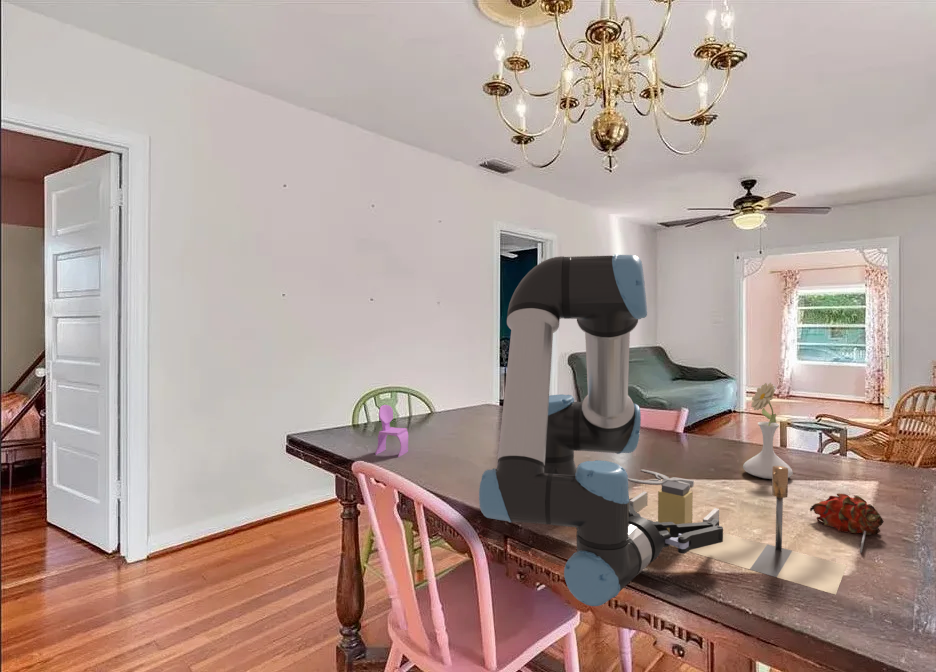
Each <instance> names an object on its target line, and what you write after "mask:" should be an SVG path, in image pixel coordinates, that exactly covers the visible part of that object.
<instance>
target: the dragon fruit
mask: <svg viewBox="0 0 936 672" xmlns="http://www.w3.org/2000/svg"><path fill="white" fill-rule="evenodd" d="M812 511H813V512H814V514H816V515H819V516H817V517H816V521H817V522H818V523H820V524H821V525H823V526H824V527H832V528H835V529H837V531H838V533H841V532H846V533H847V534H855V535H856V534H861V535H863V534H864V531H866V534H865V535H867V536H868V535H869V536H870V535H875V536H877V535H878V534H879V533H881V532H882V531H881V529H880V527H881V526H882V525H884V520H883V517H882V516H881V514H880V513H879V512H878V511H877V509H876V508H875V507H874V506H873V505H872V504H870V503H868V502H867V501H866V500H865V499H863V498H862V497H861V496H859V495H856V494H855V495H853V497H851V496H849V494H847V493H841V492H839V493H836V495H829V496H828V497H827V499H826V500H822V501H819V502H817V503H814V504H813V505H811V507H810V509H809V512H812Z"/></svg>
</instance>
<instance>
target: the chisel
mask: <svg viewBox="0 0 936 672" xmlns="http://www.w3.org/2000/svg"><path fill="white" fill-rule="evenodd" d="M788 480H789V477H788V468H786V467H783V466H773V472H772V479H771V481H772V482H771V483H772V484H771V495H772V496H774V497H775V499H776V501H775V502H776V505H775V507H776V508H775V511H776V512H775V541H774V542H775V545H774V546H775V549H776V550H778V551H781V550H782V548H783V517H784V516H783V513H784V511H783V509H784V507H783V505H784V498H788V496H789V495H788V492H789V491H788V489H789V485H788V483H789V481H788Z"/></svg>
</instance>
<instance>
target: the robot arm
mask: <svg viewBox="0 0 936 672" xmlns="http://www.w3.org/2000/svg"><path fill="white" fill-rule="evenodd" d="M645 286H646V285H645V274H644V267H643V263H642V260H641V258H640V257H638V256H637V255H635V254H620V253H613V254H612V255H583V256H580V255H579V256H564V255H563V256H555V257H551V258H547V259H545V260H543V261H541V262H539V263H538V264H536V265H535V266H534V267H533V268H532V269H530V270H529V271H528V272H527V273H526V274H525V276H524V277H523V278H522V279H521V280H520V282H519V283H518V285H517V287H516V288H515V289H514V292H513V294H512V296H511V298H510V301H509V304H508V309H507V316H506V325H507V327H508V328H509V329H510V330H511V331H510V339H509V350H508V360H507V365H506V376H505V387H504V397H503V406H502V413H501V423H500V424H501V426H500V435H499V444H498V453H497V464H496V468H492V469H486V470H484V471H483V473H482V476H481V481H480V482H479V489H478V503H479V510H480V511H481V513H482V514H483V516H484V517H485V518H487V519H492V520H498V521H505V522H508V523H513V522H514V523H524V524H525V523H529V524H536V525H537V524H538V525H551V526H559V527H567V528H576V552H574V553H572V555H571V556H570V557H569V558H568V559H567V561H566V562H565V564H564V565H565V566H564V568H563V577H564V580H565V583H566V587H567V589H568V590H569V592H570V593H571V594H572V595H573V597H574V598H575V599H576V600H577V601H579V602H581V603H583V604H584V605H586V606H590V607H599V606H603V605H604V604H605V603H607V602H609V601H610V600H612V599H613V598H616V597H617V596H618V595H619V593H620V592H621V591H622V590H623V589H624V588H625V587H626V586H627V585H628V584H629V583H631V582H632V581H633V580H634V578H636V576H638V575H639V574H640V573H642V572H643V570H645V568H647V566H649V565H650V564H651V563H652V562H654V560H656V559H657V558H658V557H659V555H660V554H661V553H662V550H663V549H664V548H667V547H671V546H670V545H672V546H675V547H678V548H677V552H678V553H679V554H682V555H684V554H687V553H688V551H689V550H692V549H696V548H700V547H704V546H709V545H713V544H717V543H721V542H723V533H724V527H723V526H721V525H720V508H716V507H715V508H713V509H712V510H711V511H710V512H709V513H708V514H707V515H705V516H704V518H703V519H702V521H699V522H692V523H685V524H674V523H673V522H662V523H660V522H658V521H656V522H654V521H653V520H651V519H647V518H645V517H643V516H641V515H640V513H639V512H640V511H641V510H643V509H644V508H645V507H647V506H648V496H649V495H648V493H649V492H647V491H645V490H643V491H642V492H641V493H639V494H638V495H636V496H634V497H633V498H632V497H631V498H630V494H629V480H628V478H629V477H628V473H627V471H626V469H625V468H624V467H623V466H622V465H620V464H618V463H615V462H612V461H608V460H599V459H598V460H597V459H596V460H586V461H582V462H580V463H579V464H578V465H577V466H576V462H575V451H576V452H590V453H591V452H594V453H595V452H596V453H607V454H617V455H620V454H631V453H634V452H635V451H636V450H637V447H638V444H639V441H640V431H641V420H642V419H641V418H642V417H641V413H642V412H641V407H640V406H639V405H638V404H637V403H634V402H633V400H632V398H631V397H630V395H629V373H630V372H629V370H630V369H629V368H630V367H629V366H630V339H631V338H630V337H631V332H632V331H633V330H635V329H636V327H637V325H638V323H639V320H641V319H645V318H646V317H647V316H648V306H647V294H646V288H645ZM560 319H564V320H565V319H566V320H568V319H569V320H570V319H571V320H574V319H576V323H577V326H578V327H579V329H580V330H581V331H583V332H584V337H585V357H586V378H587V381H586V382H587V383H586V384H587V395H585V396H584V398H583V400H582V401H575V397H574V396H573V395H572V394H563V393H562V394H551V395H550V389H551V388H550V386H551V375H552V374H551V373H552V372H551V371H552V358H553V357H552V355H553V354H552V353H553V337H554V333H556V332H557V331H558V330H559V328H560ZM667 528H670V532H669V531H668V529H667ZM675 547H674V548H675Z"/></svg>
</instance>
